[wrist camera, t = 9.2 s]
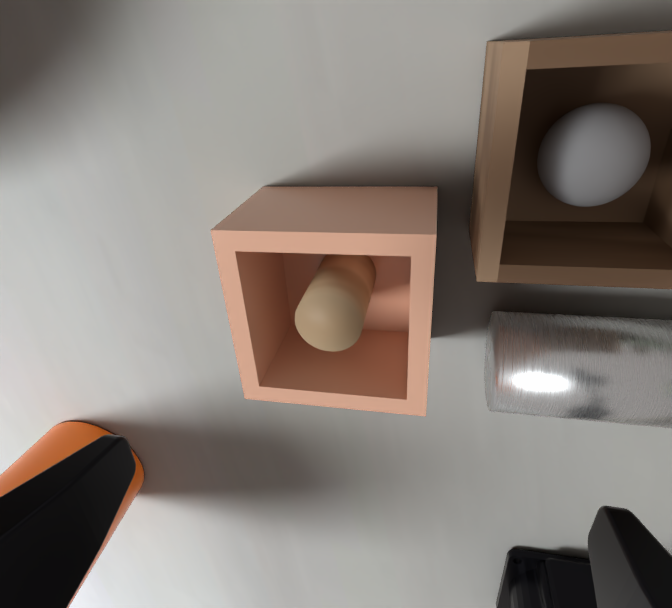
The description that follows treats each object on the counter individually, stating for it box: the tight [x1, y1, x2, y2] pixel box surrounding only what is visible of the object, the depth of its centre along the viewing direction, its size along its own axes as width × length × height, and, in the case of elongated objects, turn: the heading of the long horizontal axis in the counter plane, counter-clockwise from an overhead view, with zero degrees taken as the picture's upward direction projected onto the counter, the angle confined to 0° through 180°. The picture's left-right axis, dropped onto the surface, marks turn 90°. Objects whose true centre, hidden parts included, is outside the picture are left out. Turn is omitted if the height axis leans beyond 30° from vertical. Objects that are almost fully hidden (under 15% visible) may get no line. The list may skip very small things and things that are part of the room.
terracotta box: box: [211, 187, 437, 416], centre depth 17 cm, size 7×7×5 cm
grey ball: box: [537, 103, 651, 207], centre depth 14 cm, size 3×3×3 cm
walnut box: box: [469, 30, 672, 289], centre depth 14 cm, size 6×6×4 cm
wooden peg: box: [295, 254, 376, 352], centre depth 17 cm, size 2×2×4 cm
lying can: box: [485, 311, 672, 428], centre depth 17 cm, size 8×4×4 cm, turn 93°
